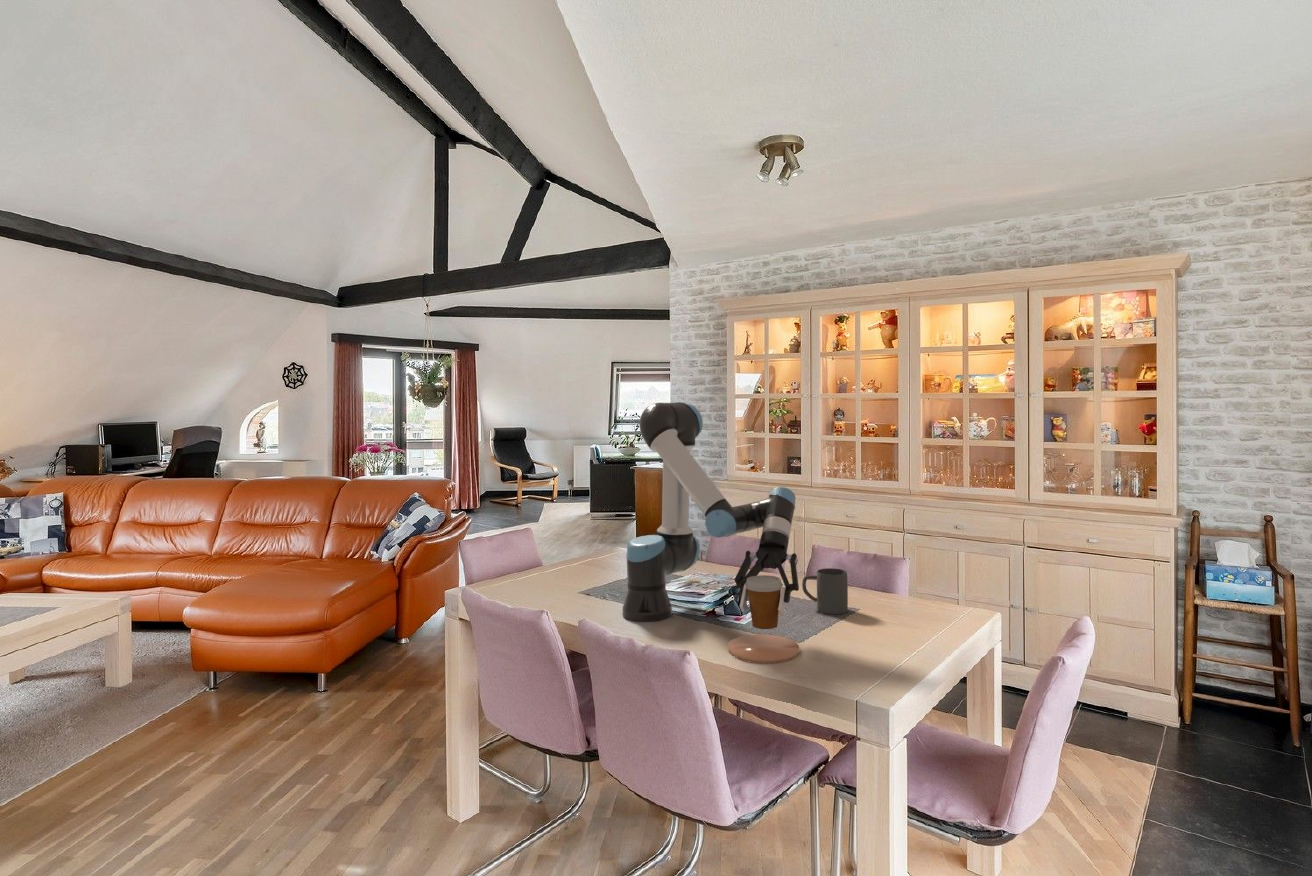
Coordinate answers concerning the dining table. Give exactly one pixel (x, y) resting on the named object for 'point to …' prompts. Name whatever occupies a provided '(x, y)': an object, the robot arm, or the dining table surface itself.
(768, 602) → the disposable coffee cup
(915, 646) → the dining table surface
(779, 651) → the terracotta dish
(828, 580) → the mug
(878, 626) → the dining table surface
